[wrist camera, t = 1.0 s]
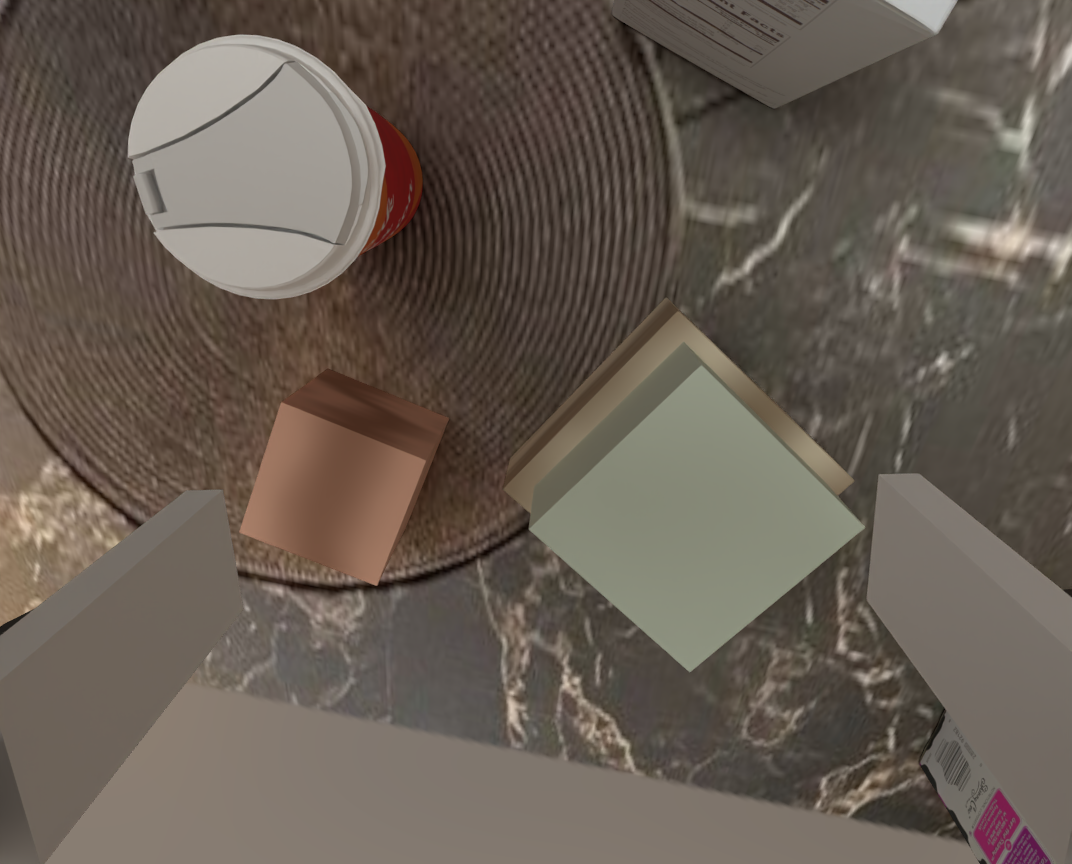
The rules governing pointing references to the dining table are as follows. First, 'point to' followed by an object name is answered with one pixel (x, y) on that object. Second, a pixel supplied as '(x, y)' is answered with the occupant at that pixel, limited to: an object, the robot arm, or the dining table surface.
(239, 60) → the coffee cup
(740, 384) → the tower base
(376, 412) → the terracotta cube
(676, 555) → the tower top
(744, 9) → the supplement box
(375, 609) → the dining table surface
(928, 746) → the candy bar box
